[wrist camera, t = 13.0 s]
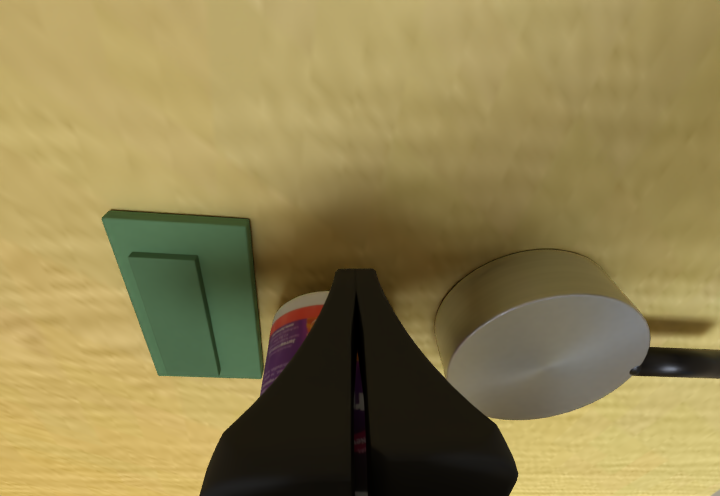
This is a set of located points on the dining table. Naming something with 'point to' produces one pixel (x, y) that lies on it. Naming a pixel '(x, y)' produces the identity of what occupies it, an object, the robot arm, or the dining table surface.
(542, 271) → the pan
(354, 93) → the dining table surface
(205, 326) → the green light switch
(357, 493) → the pill bottle
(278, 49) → the dining table surface
